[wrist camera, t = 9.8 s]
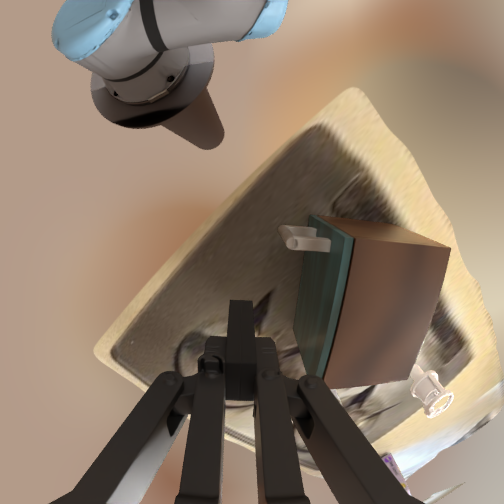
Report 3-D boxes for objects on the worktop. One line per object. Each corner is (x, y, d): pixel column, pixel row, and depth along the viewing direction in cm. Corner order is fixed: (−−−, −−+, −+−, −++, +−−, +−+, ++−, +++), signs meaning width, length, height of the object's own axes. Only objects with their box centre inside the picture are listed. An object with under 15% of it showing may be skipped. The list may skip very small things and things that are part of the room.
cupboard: (299, 328, 47) (320, 390, 32) (316, 215, 42) (355, 238, 26) (369, 327, 48) (407, 379, 32) (392, 223, 42) (451, 248, 27)
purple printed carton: (398, 466, 68) (412, 498, 50) (386, 472, 68) (399, 505, 51) (391, 451, 63) (409, 489, 46) (378, 458, 63) (394, 496, 46)
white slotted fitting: (403, 361, 51) (435, 403, 36) (427, 353, 51) (460, 391, 36) (397, 383, 53) (424, 425, 38) (420, 375, 53) (449, 414, 38)
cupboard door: (263, 328, 47) (271, 390, 31) (275, 211, 41) (294, 232, 26) (298, 329, 47) (318, 389, 32) (315, 215, 42) (353, 237, 26)
